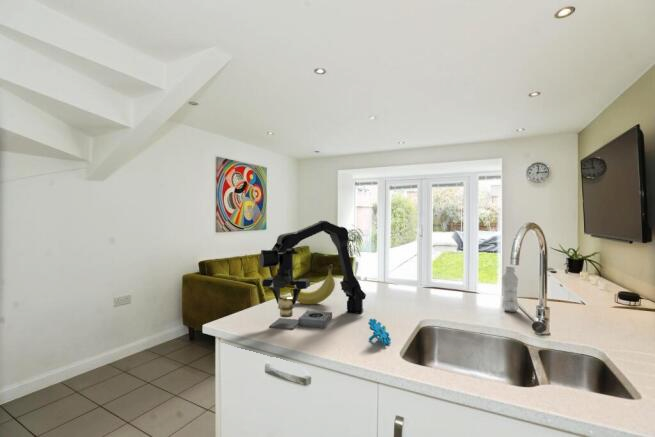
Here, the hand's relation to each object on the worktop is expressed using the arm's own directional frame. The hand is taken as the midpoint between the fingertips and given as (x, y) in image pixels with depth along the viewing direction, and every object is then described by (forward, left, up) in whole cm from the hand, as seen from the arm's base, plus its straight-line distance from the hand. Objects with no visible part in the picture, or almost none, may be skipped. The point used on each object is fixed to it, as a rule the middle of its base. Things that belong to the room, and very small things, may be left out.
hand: (286, 304), depth 125 cm
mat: (0, 0, -8) cm, 8 cm away
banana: (-1, -31, -8) cm, 32 cm away
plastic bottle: (-92, -42, -8) cm, 101 cm away
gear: (-38, +8, -8) cm, 40 cm away
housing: (-11, -5, -8) cm, 14 cm away
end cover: (0, 0, -5) cm, 4 cm away
